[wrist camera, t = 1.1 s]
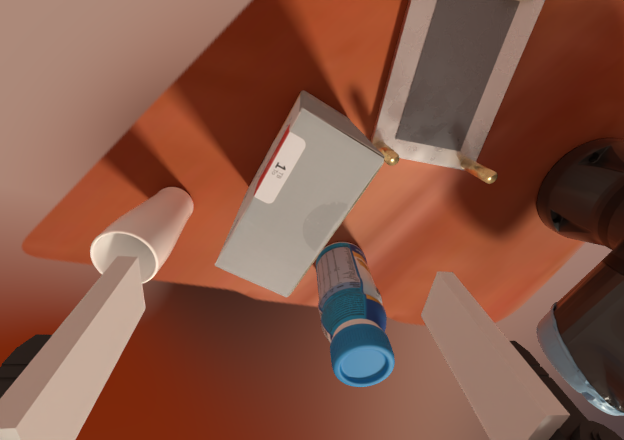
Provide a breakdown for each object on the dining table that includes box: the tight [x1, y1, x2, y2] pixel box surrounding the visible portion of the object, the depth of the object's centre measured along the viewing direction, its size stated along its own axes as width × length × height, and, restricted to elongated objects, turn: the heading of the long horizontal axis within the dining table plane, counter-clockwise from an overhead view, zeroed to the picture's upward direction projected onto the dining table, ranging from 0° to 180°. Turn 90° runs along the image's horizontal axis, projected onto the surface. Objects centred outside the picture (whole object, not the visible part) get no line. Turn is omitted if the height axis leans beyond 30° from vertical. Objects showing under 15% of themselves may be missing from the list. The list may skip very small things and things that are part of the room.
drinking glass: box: [90, 187, 194, 284], centre depth 38 cm, size 7×7×15 cm
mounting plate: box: [370, 0, 545, 184], centre depth 36 cm, size 15×22×7 cm
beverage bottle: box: [316, 242, 395, 387], centre depth 42 cm, size 8×8×20 cm
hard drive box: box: [215, 90, 385, 297], centre depth 34 cm, size 16×8×20 cm, turn 149°
